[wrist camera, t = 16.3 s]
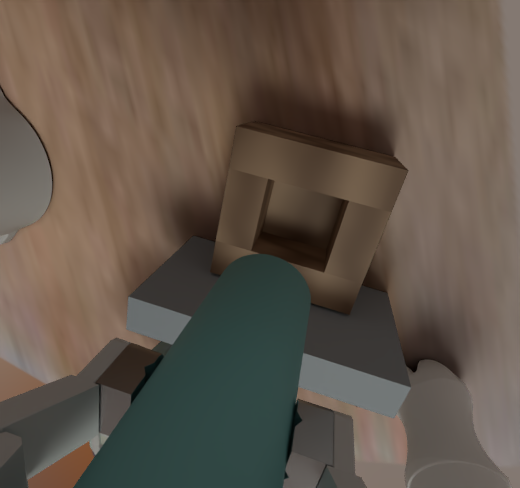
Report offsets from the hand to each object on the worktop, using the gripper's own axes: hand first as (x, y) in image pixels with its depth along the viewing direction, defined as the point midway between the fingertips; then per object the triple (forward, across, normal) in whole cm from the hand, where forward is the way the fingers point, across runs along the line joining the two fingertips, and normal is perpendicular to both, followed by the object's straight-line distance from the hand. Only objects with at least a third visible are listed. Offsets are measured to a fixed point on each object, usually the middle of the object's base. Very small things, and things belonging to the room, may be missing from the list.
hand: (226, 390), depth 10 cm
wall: (+23, 0, +9) cm, 25 cm away
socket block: (+23, 0, +1) cm, 23 cm away
